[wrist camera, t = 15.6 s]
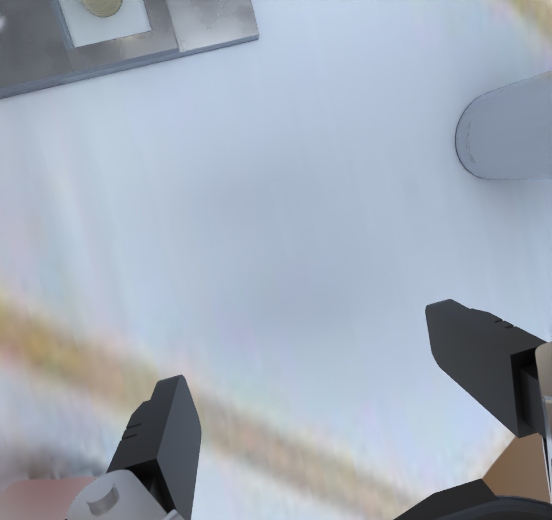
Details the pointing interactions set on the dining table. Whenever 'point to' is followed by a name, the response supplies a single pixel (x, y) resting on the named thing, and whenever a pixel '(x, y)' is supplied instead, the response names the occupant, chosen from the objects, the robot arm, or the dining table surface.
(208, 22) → the chain end lower
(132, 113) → the dining table surface
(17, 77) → the chain end upper
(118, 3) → the pin
